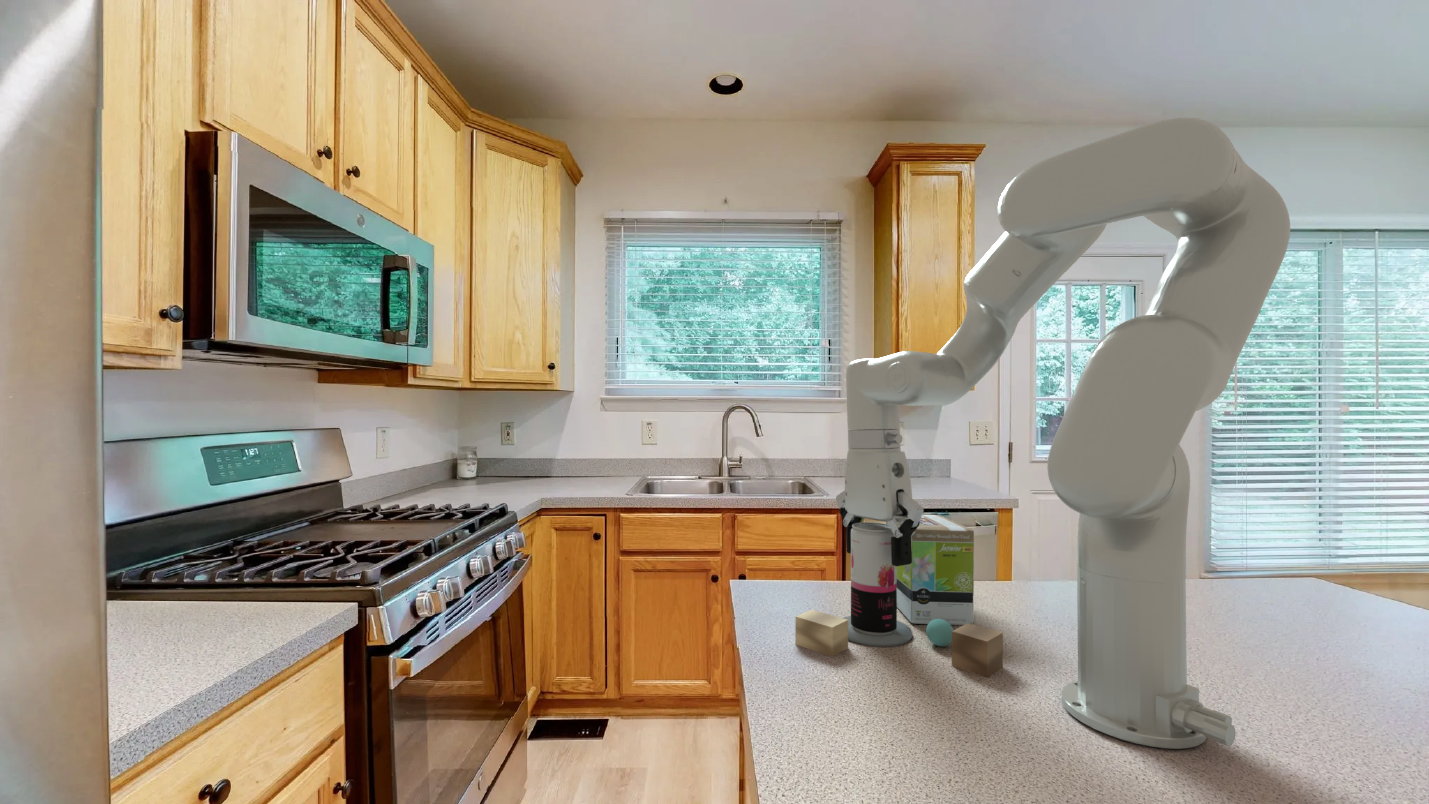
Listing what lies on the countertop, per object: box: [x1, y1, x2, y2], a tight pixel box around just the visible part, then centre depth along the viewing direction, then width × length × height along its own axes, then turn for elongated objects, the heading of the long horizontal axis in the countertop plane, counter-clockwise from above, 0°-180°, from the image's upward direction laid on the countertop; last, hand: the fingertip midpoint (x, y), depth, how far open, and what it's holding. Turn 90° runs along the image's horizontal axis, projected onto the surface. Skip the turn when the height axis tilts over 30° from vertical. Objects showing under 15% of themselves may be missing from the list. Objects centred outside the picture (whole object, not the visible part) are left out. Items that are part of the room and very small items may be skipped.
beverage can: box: [850, 521, 898, 635], centre depth 87 cm, size 6×7×15 cm
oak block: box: [794, 609, 849, 658], centre depth 82 cm, size 6×4×4 cm, turn 46°
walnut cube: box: [951, 623, 1004, 679], centre depth 75 cm, size 4×4×4 cm
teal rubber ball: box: [925, 619, 954, 647], centre depth 82 cm, size 4×4×4 cm
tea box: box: [885, 514, 975, 626], centre depth 97 cm, size 15×10×15 cm, turn 179°
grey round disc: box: [842, 615, 913, 648], centre depth 87 cm, size 11×11×1 cm
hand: (877, 558), depth 86 cm, fingers open, 9 cm apart
